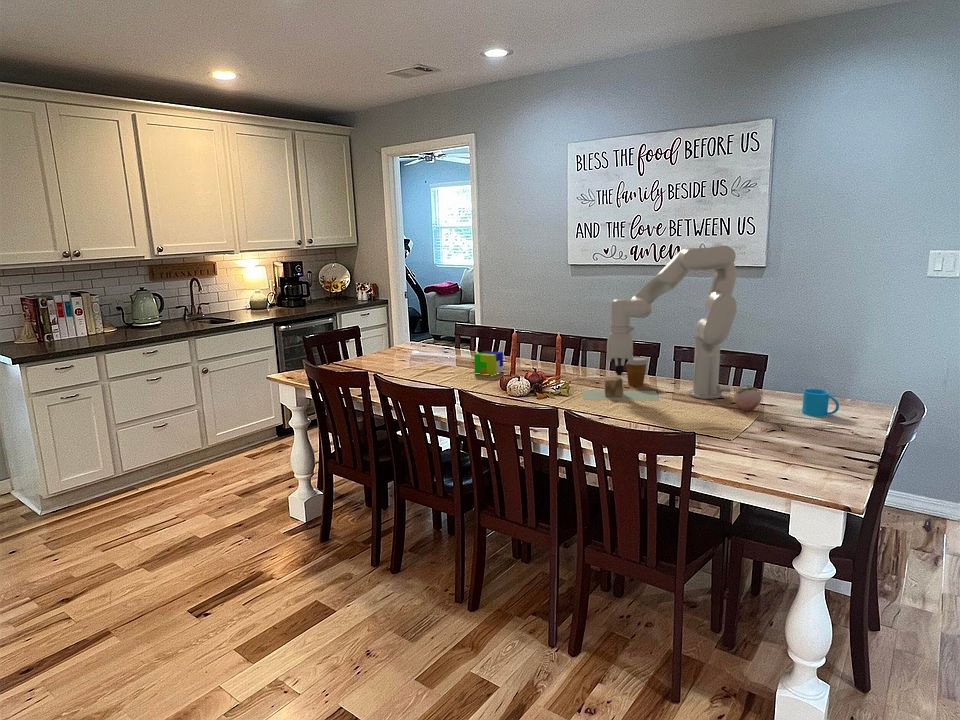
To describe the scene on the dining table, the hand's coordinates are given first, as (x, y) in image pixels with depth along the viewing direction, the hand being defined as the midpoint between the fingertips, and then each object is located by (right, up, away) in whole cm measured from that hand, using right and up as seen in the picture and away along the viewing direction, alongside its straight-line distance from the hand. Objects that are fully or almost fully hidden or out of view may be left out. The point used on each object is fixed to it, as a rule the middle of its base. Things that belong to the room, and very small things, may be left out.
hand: (619, 374), depth 260 cm
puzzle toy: (-52, -1, +49) cm, 72 cm away
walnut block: (+2, -5, +1) cm, 5 cm away
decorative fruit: (+41, -13, -24) cm, 50 cm away
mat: (+1, -9, +2) cm, 9 cm away
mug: (+66, -14, -29) cm, 73 cm away
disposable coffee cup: (+11, -5, +19) cm, 23 cm away
